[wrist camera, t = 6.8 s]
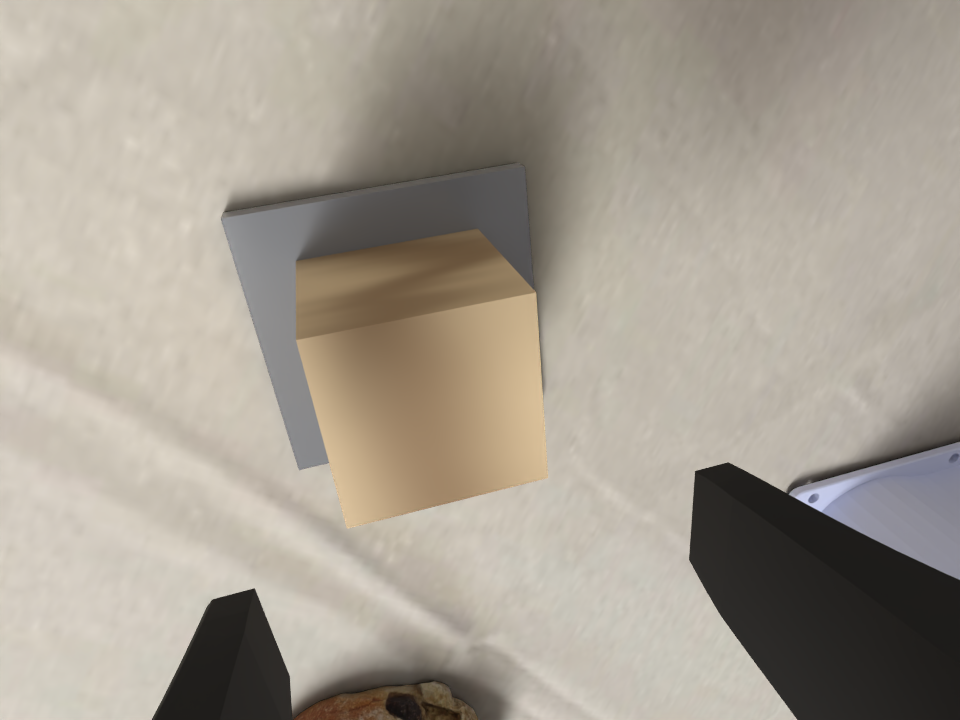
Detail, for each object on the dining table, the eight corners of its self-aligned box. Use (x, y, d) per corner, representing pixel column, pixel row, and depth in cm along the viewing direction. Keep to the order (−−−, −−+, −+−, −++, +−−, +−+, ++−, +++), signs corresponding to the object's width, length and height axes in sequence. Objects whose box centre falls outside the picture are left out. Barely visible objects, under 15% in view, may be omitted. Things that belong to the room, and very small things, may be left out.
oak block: (477, 228, 18) (536, 292, 13) (494, 382, 20) (548, 477, 16) (295, 260, 17) (296, 340, 13) (335, 417, 19) (346, 528, 15)
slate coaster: (518, 162, 18) (525, 167, 17) (536, 402, 22) (542, 411, 21) (223, 212, 16) (220, 218, 16) (299, 458, 20) (298, 470, 20)
